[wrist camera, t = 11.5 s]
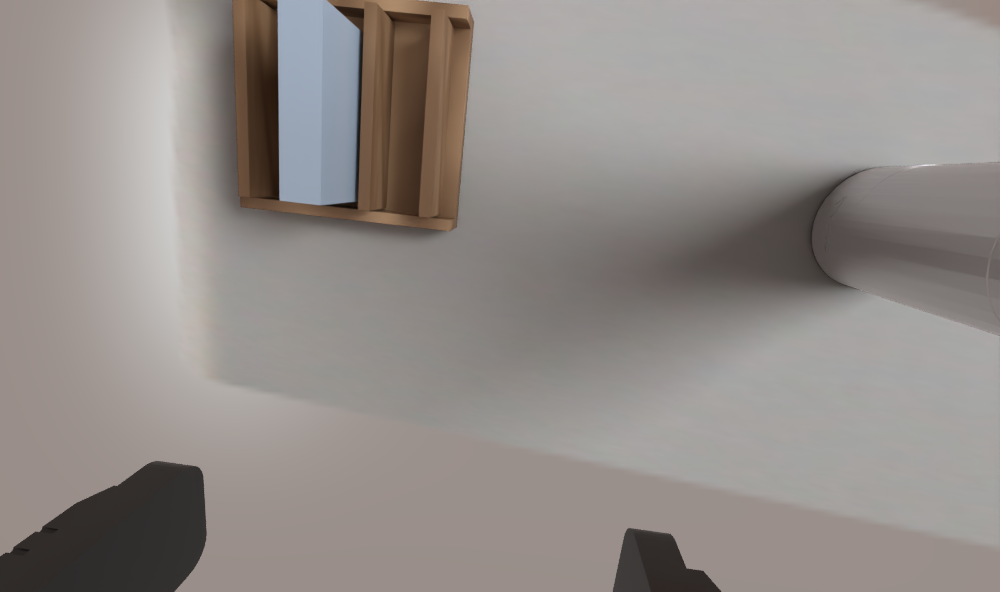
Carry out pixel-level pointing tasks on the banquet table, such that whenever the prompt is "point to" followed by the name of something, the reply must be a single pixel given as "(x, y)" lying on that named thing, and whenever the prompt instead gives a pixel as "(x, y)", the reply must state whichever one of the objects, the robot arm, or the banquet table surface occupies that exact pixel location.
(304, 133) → the light blue flat block
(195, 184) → the banquet table surface
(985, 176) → the robot arm
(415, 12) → the rack
